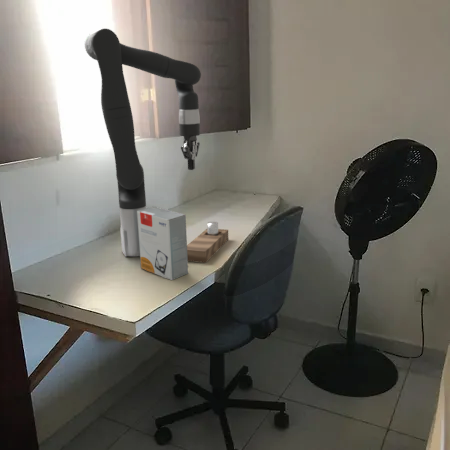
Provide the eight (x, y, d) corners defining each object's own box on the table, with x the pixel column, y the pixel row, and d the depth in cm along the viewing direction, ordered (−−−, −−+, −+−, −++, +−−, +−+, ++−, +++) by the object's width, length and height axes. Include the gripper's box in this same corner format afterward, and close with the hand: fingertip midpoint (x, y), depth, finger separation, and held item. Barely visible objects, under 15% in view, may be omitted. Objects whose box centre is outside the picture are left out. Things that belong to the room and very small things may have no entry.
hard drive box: (140, 269, 168) (135, 210, 162) (157, 262, 173) (154, 205, 167) (171, 281, 157) (167, 219, 152) (189, 273, 163) (186, 213, 157)
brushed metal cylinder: (210, 245, 188) (209, 225, 186) (206, 242, 192) (205, 222, 189) (220, 244, 189) (219, 223, 187) (216, 241, 193) (215, 221, 191)
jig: (205, 262, 172) (205, 251, 171) (182, 260, 174) (182, 249, 173) (228, 239, 194) (228, 229, 193) (207, 238, 197) (207, 228, 196)
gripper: (192, 124, 177) (194, 173, 182) (205, 120, 189) (207, 166, 194) (172, 123, 179) (175, 172, 184) (186, 120, 191) (188, 166, 196)
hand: (191, 169), depth 189 cm, fingers closed
